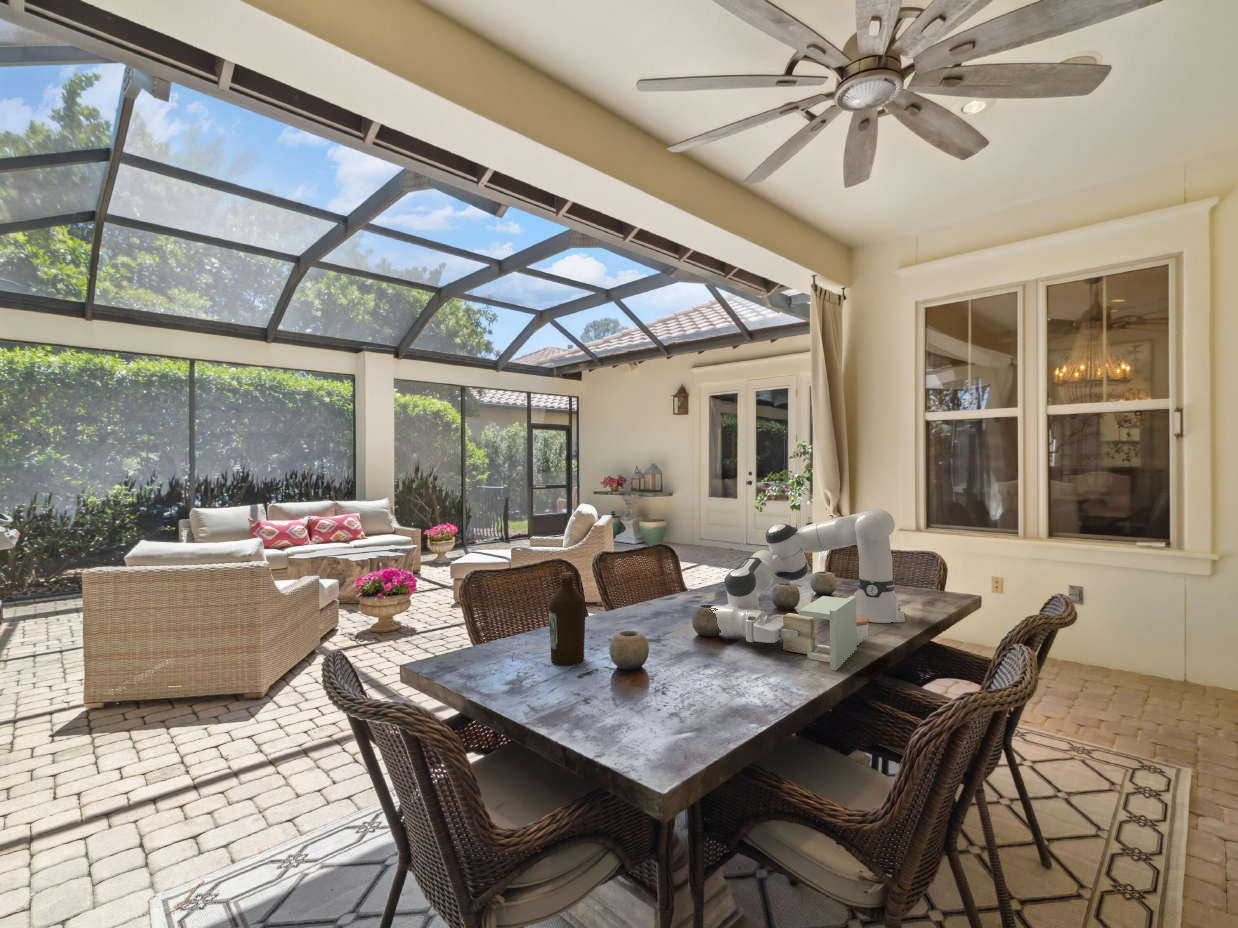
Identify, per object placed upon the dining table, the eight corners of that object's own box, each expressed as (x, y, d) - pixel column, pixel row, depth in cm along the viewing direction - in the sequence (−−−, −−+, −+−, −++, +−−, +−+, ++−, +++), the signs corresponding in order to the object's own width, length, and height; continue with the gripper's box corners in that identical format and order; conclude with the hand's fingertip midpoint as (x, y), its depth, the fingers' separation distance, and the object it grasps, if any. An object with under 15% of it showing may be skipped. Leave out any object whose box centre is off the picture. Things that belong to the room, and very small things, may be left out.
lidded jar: (874, 647, 180) (874, 616, 180) (839, 647, 180) (838, 616, 180) (861, 637, 191) (860, 608, 191) (827, 637, 191) (827, 608, 191)
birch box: (788, 645, 180) (788, 612, 180) (815, 650, 176) (814, 616, 176) (783, 649, 177) (783, 616, 177) (810, 654, 172) (810, 620, 172)
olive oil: (581, 653, 177) (580, 569, 177) (590, 664, 167) (589, 575, 167) (545, 656, 174) (545, 571, 174) (552, 668, 163) (552, 577, 164)
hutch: (823, 644, 183) (823, 592, 184) (856, 649, 178) (856, 596, 178) (799, 663, 166) (799, 606, 166) (835, 670, 160) (835, 611, 160)
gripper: (770, 627, 192) (813, 634, 184) (744, 642, 175) (790, 651, 167) (770, 607, 192) (813, 613, 184) (744, 621, 175) (790, 628, 167)
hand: (802, 631), depth 176 cm, fingers closed on birch box, 4 cm apart
